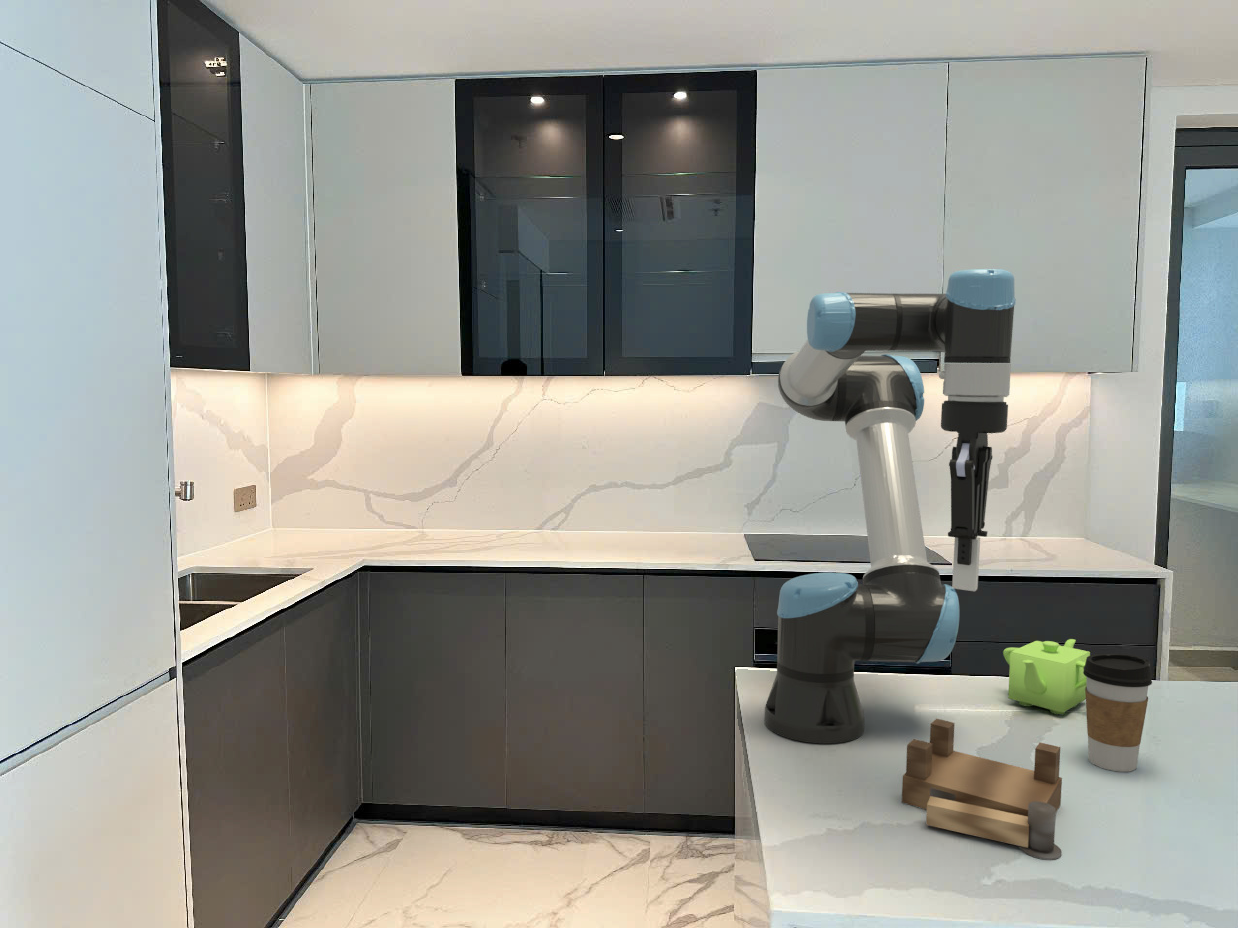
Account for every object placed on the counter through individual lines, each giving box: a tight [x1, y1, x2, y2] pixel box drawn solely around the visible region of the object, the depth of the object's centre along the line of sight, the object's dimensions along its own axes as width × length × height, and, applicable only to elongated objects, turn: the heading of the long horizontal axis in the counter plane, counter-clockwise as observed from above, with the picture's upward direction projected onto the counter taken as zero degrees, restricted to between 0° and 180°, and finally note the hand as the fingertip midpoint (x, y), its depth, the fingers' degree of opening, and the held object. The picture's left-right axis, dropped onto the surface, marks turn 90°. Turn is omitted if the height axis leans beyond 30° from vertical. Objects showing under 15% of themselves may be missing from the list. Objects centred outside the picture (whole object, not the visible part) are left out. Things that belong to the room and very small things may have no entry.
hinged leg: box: [925, 796, 1057, 852], centre depth 103 cm, size 14×3×4 cm, turn 62°
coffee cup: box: [1083, 653, 1153, 773], centre depth 124 cm, size 8×8×15 cm
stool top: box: [901, 718, 1063, 861], centre depth 109 cm, size 19×16×8 cm
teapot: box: [1002, 638, 1091, 715], centre depth 147 cm, size 15×13×11 cm
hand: (964, 588), depth 110 cm, fingers closed
